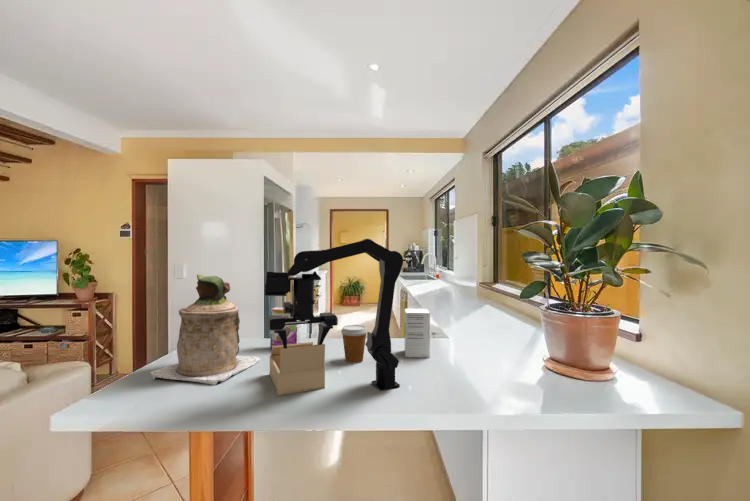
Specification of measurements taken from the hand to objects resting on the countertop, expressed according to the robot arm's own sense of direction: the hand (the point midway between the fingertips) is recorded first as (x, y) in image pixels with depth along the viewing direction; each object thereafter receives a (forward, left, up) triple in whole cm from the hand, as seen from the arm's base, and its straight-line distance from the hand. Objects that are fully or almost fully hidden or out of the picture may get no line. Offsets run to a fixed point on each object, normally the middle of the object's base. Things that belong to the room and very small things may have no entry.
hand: (302, 351), depth 99 cm
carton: (+9, 0, -11) cm, 14 cm away
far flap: (+15, 0, -3) cm, 16 cm away
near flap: (0, 0, -2) cm, 2 cm away
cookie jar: (+31, +24, -12) cm, 41 cm away
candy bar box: (+47, -4, -12) cm, 49 cm away
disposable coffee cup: (+21, -24, -12) cm, 34 cm away
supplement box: (+19, -49, -12) cm, 53 cm away
